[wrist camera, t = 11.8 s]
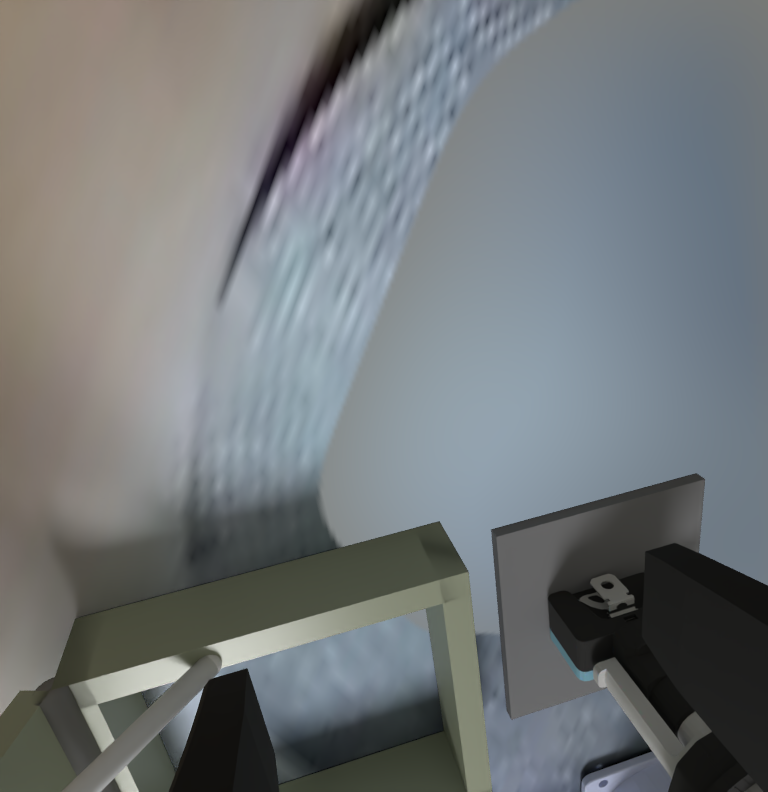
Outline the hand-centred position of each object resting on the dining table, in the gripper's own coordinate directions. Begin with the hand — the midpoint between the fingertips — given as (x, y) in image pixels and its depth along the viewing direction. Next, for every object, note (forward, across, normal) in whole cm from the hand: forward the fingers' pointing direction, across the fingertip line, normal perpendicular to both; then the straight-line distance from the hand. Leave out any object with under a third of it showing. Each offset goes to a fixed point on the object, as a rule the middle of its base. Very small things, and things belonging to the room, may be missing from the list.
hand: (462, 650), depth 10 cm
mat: (+10, -9, +11) cm, 18 cm away
